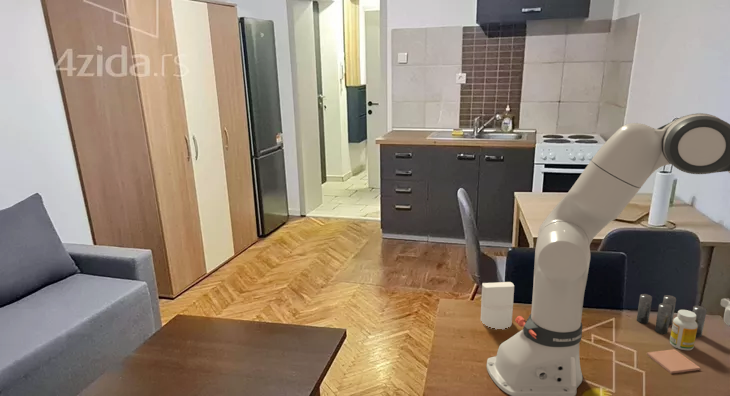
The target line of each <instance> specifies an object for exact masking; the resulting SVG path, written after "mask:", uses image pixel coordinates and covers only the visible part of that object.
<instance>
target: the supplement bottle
mask: <svg viewBox="0 0 730 396" xmlns="http://www.w3.org/2000/svg"><path fill="white" fill-rule="evenodd" d="M695 320H696V314H695V313H694V312H692V311H691V310H689V309H688V310H687V309H679V310H678V311H677V316H676V317H673V322H672V325H671V326H672V327H671V331H670V336H669V344H670V345H671V346H672V347H673V348H676V349H679V350H681V351H692V350H693V349H694V347H695V342H696V338H697V337H696V332H697V327H698V325H697V323H696V321H695Z"/></svg>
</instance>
